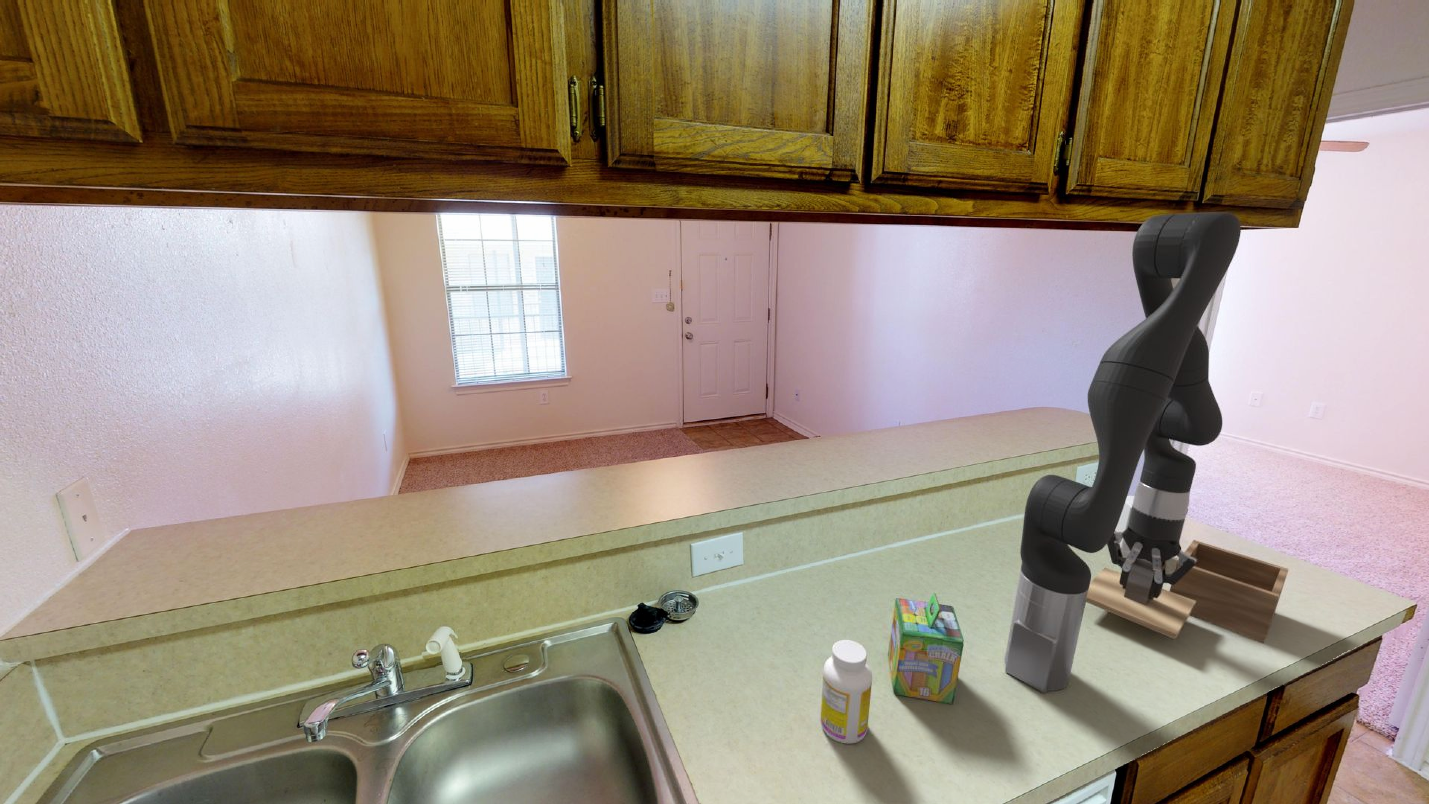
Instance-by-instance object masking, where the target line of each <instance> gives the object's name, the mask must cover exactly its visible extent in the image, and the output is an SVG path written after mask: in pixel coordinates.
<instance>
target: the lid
mask: <svg viewBox="0 0 1429 804" xmlns="http://www.w3.org/2000/svg"><path fill="white" fill-rule="evenodd" d="M1154 572H1155V571H1154V570H1153V563H1151V562H1149V561H1147V560H1142V559H1139V558H1138V559H1137V560H1136V561H1135V562H1134V564H1133V563H1132V564H1131V568H1130V572H1129V577H1128V581H1127V585H1126V589H1123V588H1122V587H1123V585H1120V582H1119V581H1120V577H1121V572H1118V571H1115V570H1113V569H1110V568H1107V567H1104V568H1103V569H1102V570H1101V571H1100V572H1099V573H1098V574H1097V575H1096V576H1095V577H1094V579H1092V581H1090V586H1089V590H1088V595H1087V600H1086V603H1088V604H1089V605H1092V606H1095V607H1097V608H1098V609H1101V610H1104V611H1106V612H1108V613H1109V612H1110V613H1111V614H1114V615H1115V616H1118V617H1121V618H1124V619H1125V620H1128V621H1131V622H1132V623H1135V624H1138V625H1140V626H1143V627H1145V628H1147V629H1150V630H1152V631H1153V632H1157V633H1159V634H1162V635H1164V636H1167V637H1169V638H1172V639H1174V640H1176V639H1177V637H1178V636H1179V634H1180V632H1181V630H1183V629H1182V628H1183V627H1184V625H1185V624H1186V622H1187V621H1188V619H1189V617H1190V616H1191V615H1190V614H1191V612H1192V610H1193V609H1194V607H1195V604H1196V601H1194V600H1192V599H1189V598H1186V597H1183V596H1181V595H1178V594H1175V593H1173V592H1170V590H1167V589H1164V588H1162V591H1161V594H1160V596H1159V597H1158V598H1154V599H1153V600H1151V599H1148V597H1149V593H1150V589H1151V585H1152V581H1153V580H1154Z"/></svg>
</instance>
